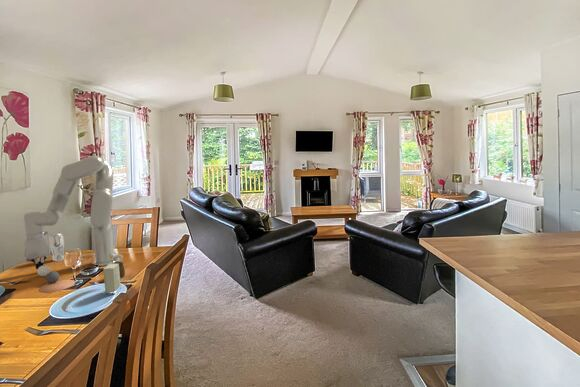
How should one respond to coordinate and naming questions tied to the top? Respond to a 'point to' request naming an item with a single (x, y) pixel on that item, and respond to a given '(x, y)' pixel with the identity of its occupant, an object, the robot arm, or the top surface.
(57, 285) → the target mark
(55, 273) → the object ball
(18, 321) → the top surface
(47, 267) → the cue ball
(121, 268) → the utensil holder
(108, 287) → the skincare box
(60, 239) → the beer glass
